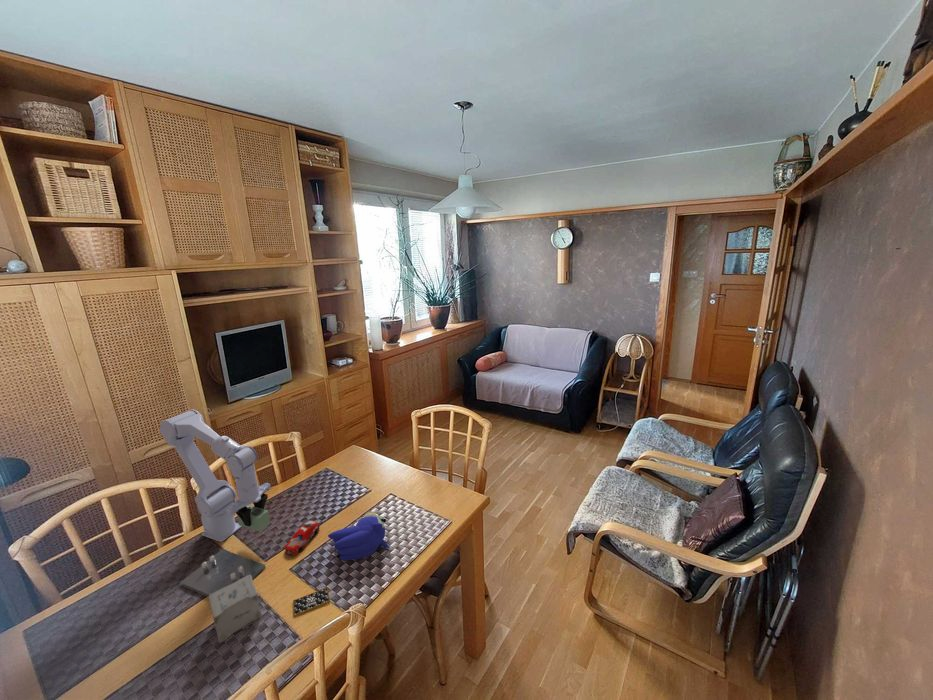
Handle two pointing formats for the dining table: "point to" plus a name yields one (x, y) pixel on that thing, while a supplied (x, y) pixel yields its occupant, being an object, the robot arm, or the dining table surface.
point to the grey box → (234, 607)
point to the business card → (311, 601)
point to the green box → (257, 518)
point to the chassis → (221, 572)
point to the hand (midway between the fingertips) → (254, 520)
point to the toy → (360, 538)
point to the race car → (302, 537)
